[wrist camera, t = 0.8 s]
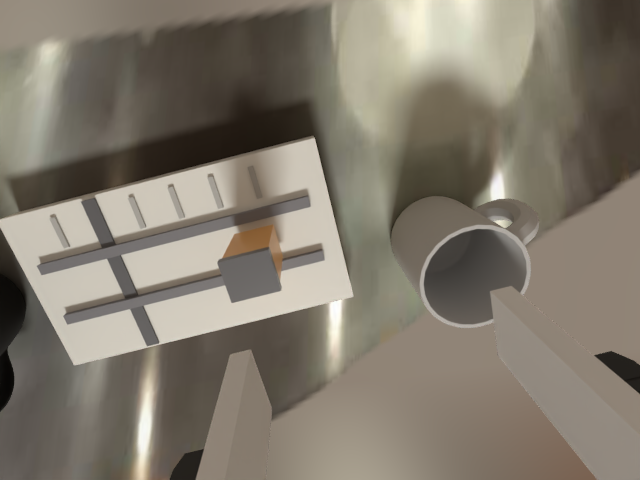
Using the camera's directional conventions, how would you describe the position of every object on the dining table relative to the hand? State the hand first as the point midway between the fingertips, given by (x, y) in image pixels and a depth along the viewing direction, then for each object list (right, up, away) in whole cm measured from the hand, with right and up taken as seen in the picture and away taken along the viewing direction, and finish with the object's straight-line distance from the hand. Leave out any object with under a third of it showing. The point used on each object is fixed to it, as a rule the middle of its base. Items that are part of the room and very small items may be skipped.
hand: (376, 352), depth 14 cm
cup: (+9, +5, +20) cm, 22 cm away
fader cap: (-7, +4, +15) cm, 17 cm away
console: (-13, +3, +19) cm, 23 cm away
